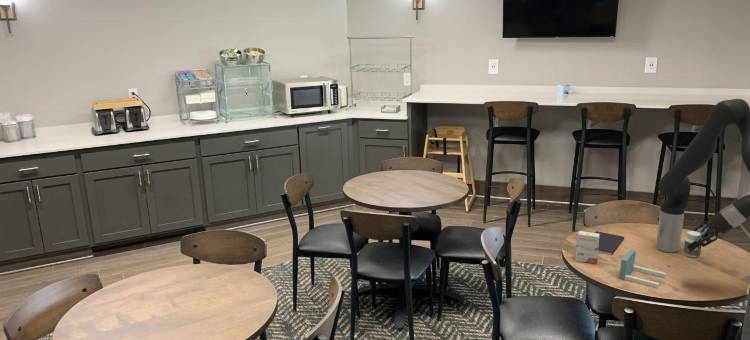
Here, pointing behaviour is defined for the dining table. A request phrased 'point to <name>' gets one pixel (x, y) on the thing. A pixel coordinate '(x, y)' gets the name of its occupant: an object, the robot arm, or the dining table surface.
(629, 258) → the pocket
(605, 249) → the notebook
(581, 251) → the ink box
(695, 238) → the pill bottle
